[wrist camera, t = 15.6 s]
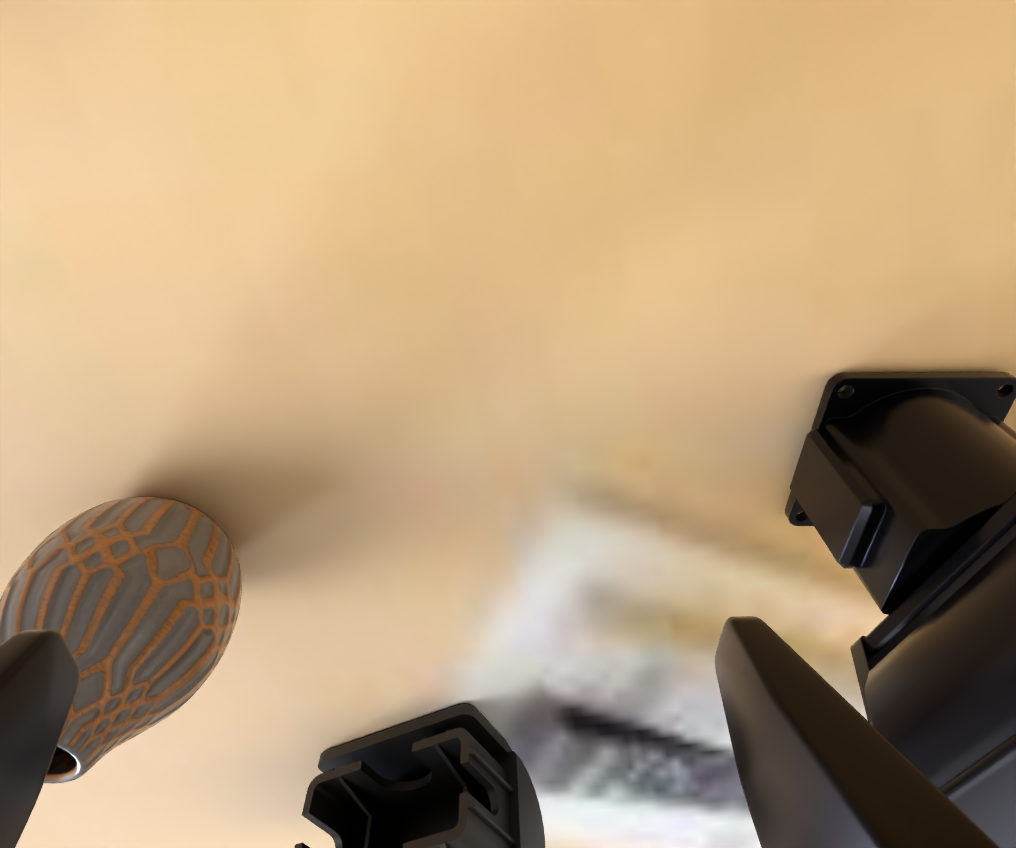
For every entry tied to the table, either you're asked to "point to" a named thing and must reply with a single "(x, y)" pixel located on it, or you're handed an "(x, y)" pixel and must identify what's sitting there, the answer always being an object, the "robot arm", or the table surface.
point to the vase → (128, 616)
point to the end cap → (427, 788)
